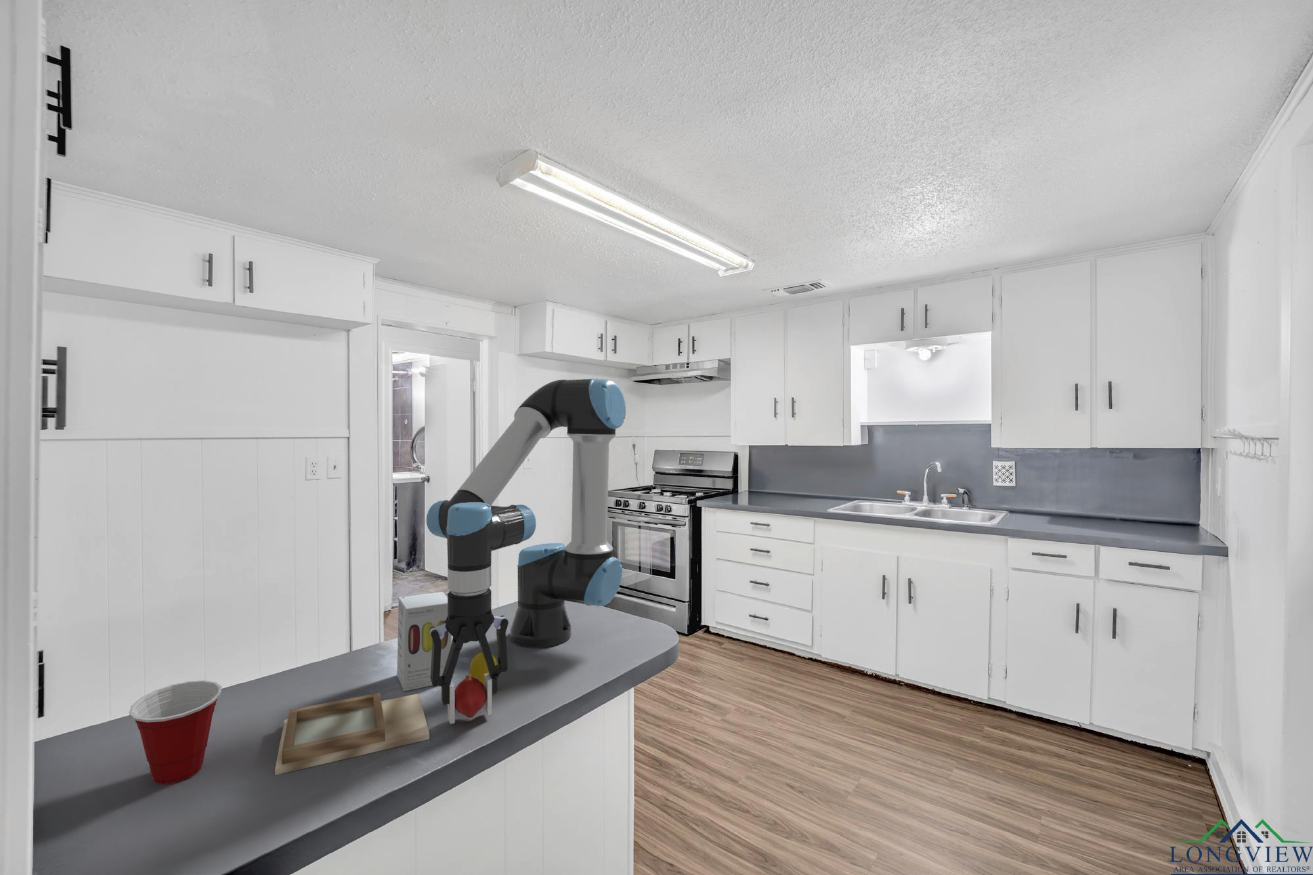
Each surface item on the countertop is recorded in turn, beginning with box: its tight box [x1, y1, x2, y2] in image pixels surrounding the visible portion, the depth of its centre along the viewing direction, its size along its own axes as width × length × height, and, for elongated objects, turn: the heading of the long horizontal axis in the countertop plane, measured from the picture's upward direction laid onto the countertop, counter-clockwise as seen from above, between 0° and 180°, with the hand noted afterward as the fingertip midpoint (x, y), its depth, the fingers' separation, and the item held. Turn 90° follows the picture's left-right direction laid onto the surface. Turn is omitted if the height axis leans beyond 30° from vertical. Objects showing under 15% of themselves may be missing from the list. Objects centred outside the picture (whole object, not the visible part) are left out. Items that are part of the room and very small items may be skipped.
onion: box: [455, 674, 487, 718], centre depth 104 cm, size 6×6×8 cm
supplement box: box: [396, 591, 453, 692], centre depth 121 cm, size 10×9×17 cm
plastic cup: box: [128, 679, 222, 785], centre depth 87 cm, size 11×11×12 cm
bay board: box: [274, 692, 430, 776], centre depth 100 cm, size 22×16×3 cm
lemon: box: [469, 651, 498, 685], centre depth 116 cm, size 6×6×8 cm
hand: (469, 715), depth 104 cm, fingers closed on onion, 6 cm apart
